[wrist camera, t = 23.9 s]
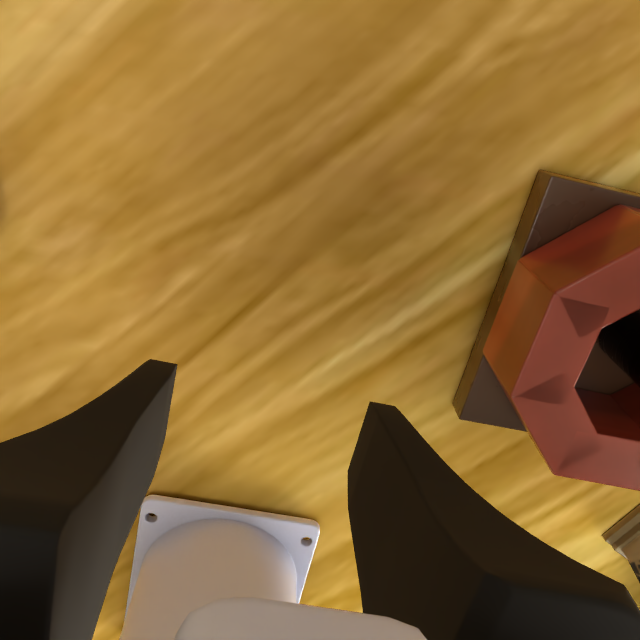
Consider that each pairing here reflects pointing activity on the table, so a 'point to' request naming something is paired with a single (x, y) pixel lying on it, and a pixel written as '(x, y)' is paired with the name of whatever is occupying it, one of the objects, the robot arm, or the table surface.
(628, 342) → the post
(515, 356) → the ring
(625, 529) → the eiffel tower
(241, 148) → the table surface
